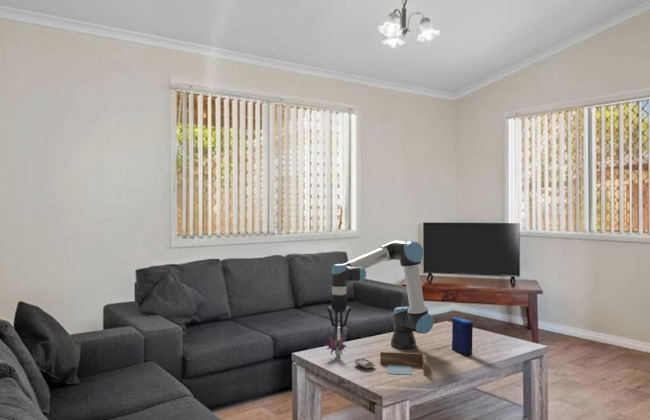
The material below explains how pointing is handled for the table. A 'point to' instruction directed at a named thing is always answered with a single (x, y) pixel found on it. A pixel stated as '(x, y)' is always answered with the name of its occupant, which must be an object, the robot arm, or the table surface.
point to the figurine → (336, 345)
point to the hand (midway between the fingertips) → (338, 339)
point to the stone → (364, 363)
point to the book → (462, 336)
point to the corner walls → (404, 359)
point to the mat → (399, 369)
